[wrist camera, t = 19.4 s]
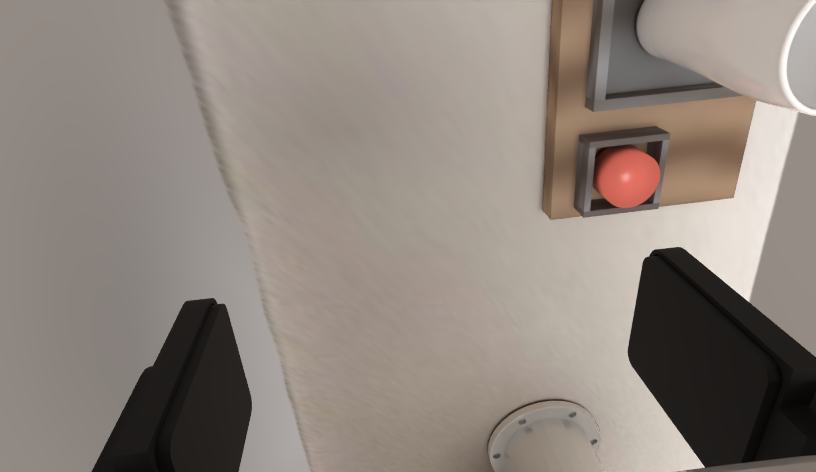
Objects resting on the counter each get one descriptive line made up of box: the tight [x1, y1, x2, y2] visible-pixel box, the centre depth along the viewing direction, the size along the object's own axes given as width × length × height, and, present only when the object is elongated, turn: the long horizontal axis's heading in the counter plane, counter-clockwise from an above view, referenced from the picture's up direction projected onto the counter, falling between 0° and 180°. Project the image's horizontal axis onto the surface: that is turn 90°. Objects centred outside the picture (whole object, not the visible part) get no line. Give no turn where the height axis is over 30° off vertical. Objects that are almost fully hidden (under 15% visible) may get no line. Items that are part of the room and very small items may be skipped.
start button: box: [592, 144, 660, 208], centre depth 40 cm, size 4×4×2 cm
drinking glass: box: [636, 0, 816, 116], centre depth 30 cm, size 7×7×15 cm
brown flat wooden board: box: [543, 0, 756, 220], centre depth 38 cm, size 22×16×4 cm
